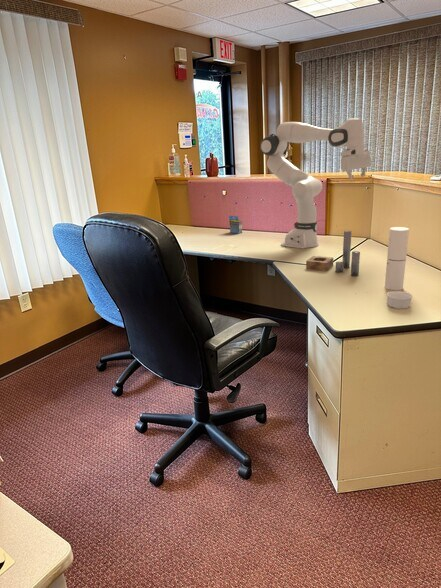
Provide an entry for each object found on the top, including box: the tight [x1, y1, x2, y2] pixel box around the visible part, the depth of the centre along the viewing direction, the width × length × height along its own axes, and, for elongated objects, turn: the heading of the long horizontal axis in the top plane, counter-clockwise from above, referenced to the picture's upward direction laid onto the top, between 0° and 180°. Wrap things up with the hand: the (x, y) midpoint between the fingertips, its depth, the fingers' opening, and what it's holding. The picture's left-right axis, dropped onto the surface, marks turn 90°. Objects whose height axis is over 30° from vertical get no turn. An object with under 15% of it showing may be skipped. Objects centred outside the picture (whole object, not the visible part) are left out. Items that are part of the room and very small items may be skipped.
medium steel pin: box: [350, 250, 361, 277], centre depth 192 cm, size 4×4×11 cm
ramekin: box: [386, 290, 413, 310], centre depth 156 cm, size 9×9×4 cm
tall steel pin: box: [341, 230, 352, 269], centre depth 203 cm, size 4×4×18 cm
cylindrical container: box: [384, 226, 410, 291], centre depth 171 cm, size 7×7×25 cm
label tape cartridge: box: [228, 215, 243, 235], centre depth 297 cm, size 9×4×12 cm, turn 47°
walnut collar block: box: [305, 255, 334, 272], centre depth 208 cm, size 10×10×4 cm
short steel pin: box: [335, 261, 344, 274], centre depth 199 cm, size 4×4×4 cm
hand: (357, 177), depth 222 cm, fingers open, 8 cm apart
